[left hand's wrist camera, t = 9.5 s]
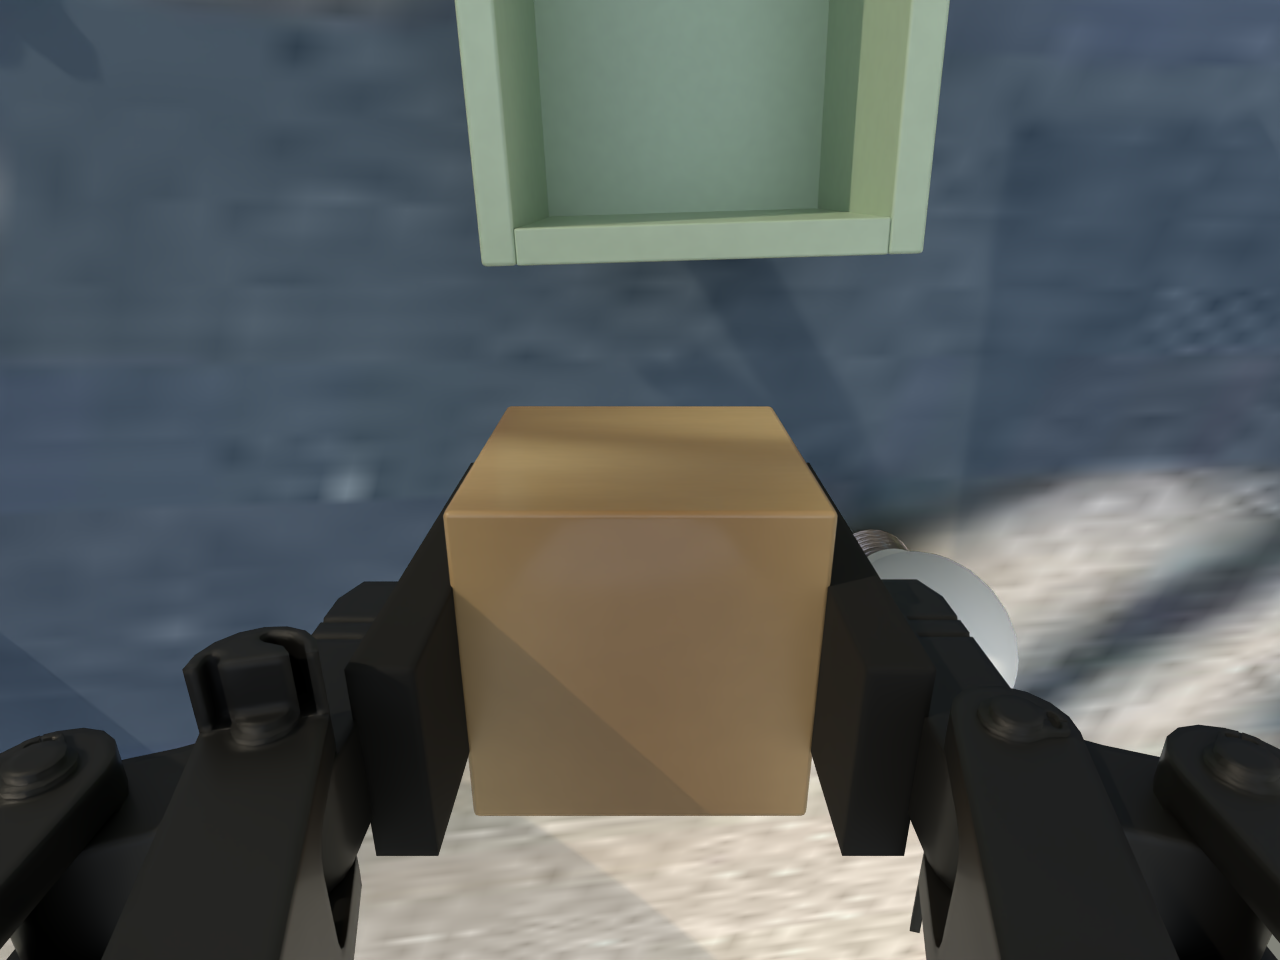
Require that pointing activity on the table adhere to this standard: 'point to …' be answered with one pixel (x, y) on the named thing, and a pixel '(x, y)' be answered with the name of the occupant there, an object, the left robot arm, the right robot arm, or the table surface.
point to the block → (640, 612)
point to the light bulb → (950, 594)
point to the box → (700, 127)
